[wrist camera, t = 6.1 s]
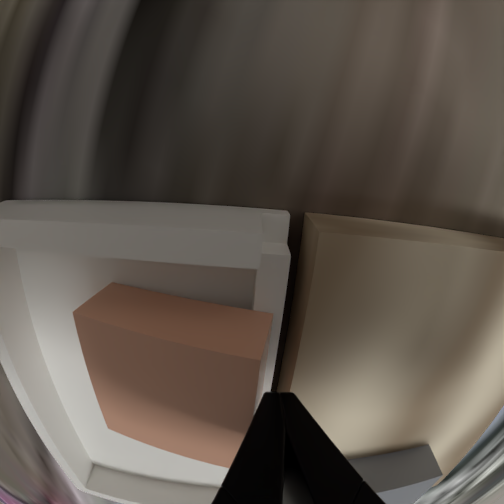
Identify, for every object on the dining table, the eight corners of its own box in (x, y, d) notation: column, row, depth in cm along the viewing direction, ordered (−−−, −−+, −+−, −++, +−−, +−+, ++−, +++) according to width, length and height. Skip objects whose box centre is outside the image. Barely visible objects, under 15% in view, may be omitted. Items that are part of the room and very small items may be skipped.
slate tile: (428, 444, 10) (443, 474, 9) (389, 491, 12) (397, 517, 10) (331, 460, 10) (339, 499, 8) (306, 503, 12) (310, 533, 10)
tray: (287, 210, 9) (301, 236, 6) (247, 486, 14) (247, 520, 12) (6, 199, 8) (-40, 218, 6) (89, 460, 14) (78, 489, 12)
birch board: (543, 245, 9) (571, 261, 7) (428, 464, 15) (437, 484, 13) (304, 211, 9) (319, 231, 7) (256, 486, 14) (256, 513, 12)
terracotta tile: (273, 313, 8) (260, 360, 6) (257, 428, 10) (245, 471, 8) (112, 282, 9) (72, 311, 7) (132, 394, 11) (107, 428, 9)
